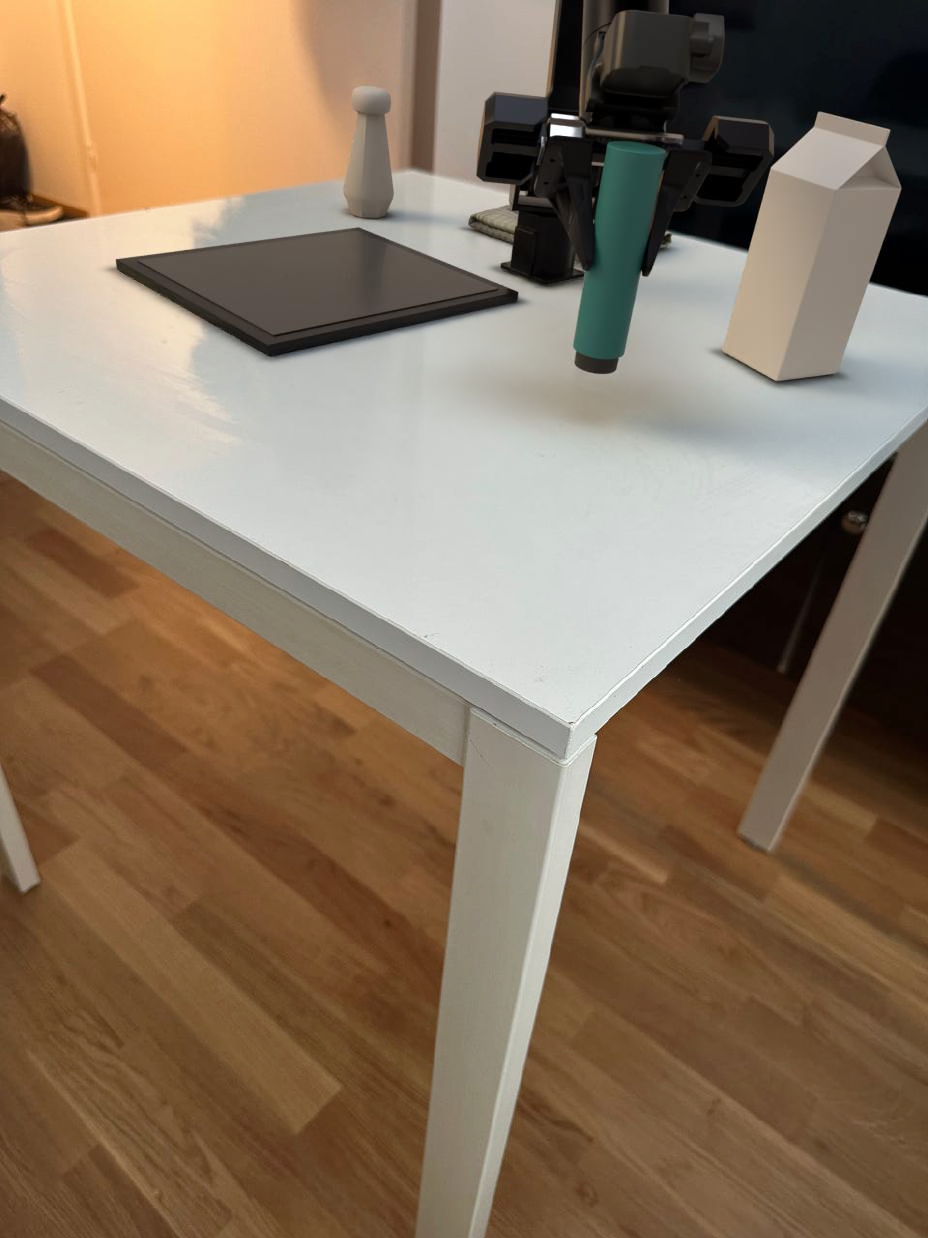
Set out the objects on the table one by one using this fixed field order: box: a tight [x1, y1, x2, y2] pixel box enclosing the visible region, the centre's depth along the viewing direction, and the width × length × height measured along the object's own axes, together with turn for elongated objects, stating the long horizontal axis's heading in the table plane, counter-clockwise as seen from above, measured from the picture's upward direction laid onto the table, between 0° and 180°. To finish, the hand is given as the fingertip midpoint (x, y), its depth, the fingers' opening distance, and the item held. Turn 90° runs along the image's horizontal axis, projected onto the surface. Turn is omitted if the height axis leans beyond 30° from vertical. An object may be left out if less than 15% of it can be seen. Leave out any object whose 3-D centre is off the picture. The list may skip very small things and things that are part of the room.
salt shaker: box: [342, 85, 395, 219], centre depth 105 cm, size 6×6×13 cm
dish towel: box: [467, 204, 673, 264], centre depth 107 cm, size 19×18×3 cm
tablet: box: [115, 226, 520, 357], centre depth 85 cm, size 28×24×1 cm
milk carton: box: [721, 111, 902, 382], centre depth 75 cm, size 7×7×19 cm
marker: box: [572, 141, 666, 375], centre depth 61 cm, size 4×4×14 cm
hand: (617, 270), depth 60 cm, fingers closed on marker, 3 cm apart
